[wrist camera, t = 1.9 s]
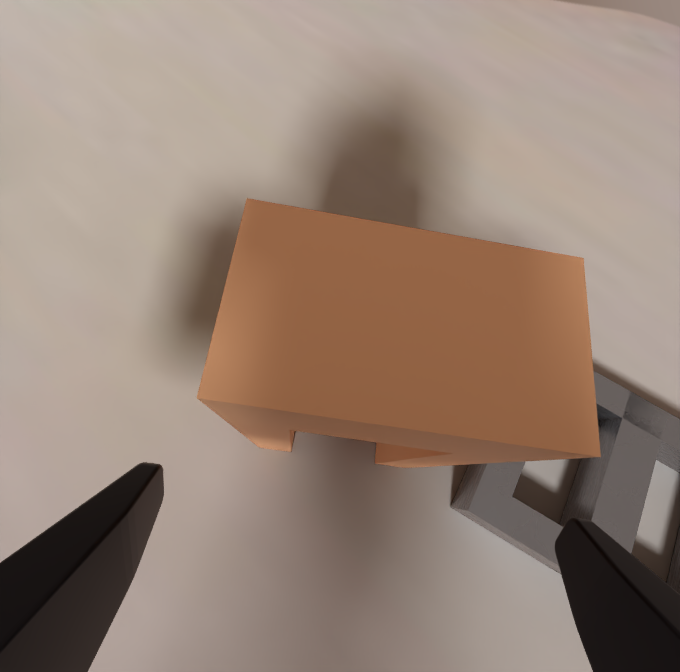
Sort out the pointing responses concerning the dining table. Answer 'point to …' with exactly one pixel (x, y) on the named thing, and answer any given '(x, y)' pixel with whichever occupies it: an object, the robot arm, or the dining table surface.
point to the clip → (401, 342)
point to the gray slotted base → (584, 481)
